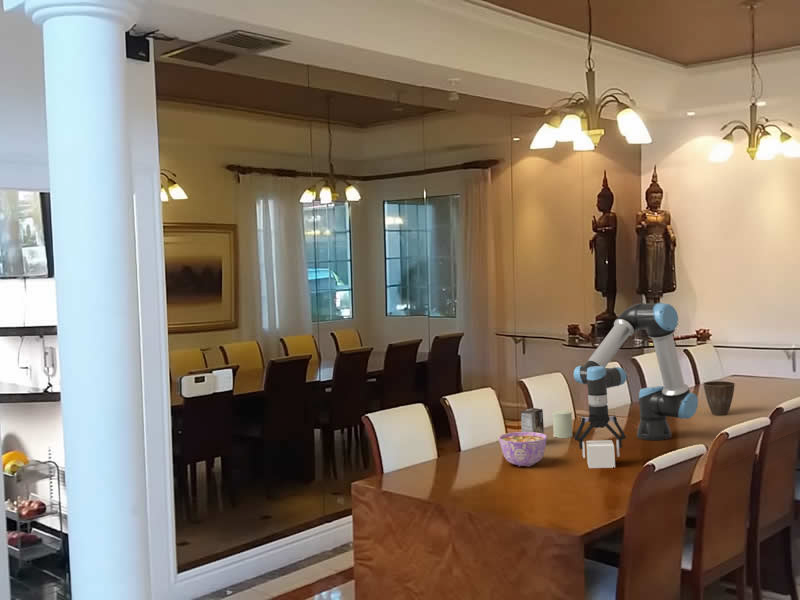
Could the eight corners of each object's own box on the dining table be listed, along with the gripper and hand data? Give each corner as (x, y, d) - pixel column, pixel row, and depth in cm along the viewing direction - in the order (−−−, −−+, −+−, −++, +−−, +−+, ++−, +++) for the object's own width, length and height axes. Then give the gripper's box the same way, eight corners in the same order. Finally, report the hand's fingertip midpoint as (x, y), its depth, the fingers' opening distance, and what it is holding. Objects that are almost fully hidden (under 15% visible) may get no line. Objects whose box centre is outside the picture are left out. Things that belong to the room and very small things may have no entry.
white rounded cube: (612, 461, 332) (611, 440, 332) (615, 467, 322) (614, 445, 322) (587, 461, 334) (586, 440, 333) (589, 468, 324) (588, 446, 323)
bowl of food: (518, 473, 322) (517, 444, 322) (490, 463, 340) (489, 436, 340) (558, 464, 332) (556, 437, 331) (529, 456, 349) (527, 429, 349)
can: (573, 438, 380) (571, 412, 379) (553, 438, 382) (551, 413, 381) (572, 433, 389) (571, 409, 388) (553, 434, 391) (552, 409, 390)
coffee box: (533, 441, 376) (531, 407, 375) (545, 443, 372) (543, 408, 371) (521, 445, 370) (519, 410, 369) (533, 447, 365) (531, 412, 364)
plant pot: (738, 412, 417) (737, 381, 416) (732, 417, 404) (731, 386, 403) (708, 411, 425) (706, 380, 424) (701, 416, 412) (700, 385, 411)
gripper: (567, 407, 325) (570, 459, 326) (630, 405, 321) (633, 457, 322) (566, 404, 333) (569, 455, 334) (628, 401, 328) (631, 453, 329)
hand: (601, 456), depth 328 cm, fingers open, 13 cm apart
